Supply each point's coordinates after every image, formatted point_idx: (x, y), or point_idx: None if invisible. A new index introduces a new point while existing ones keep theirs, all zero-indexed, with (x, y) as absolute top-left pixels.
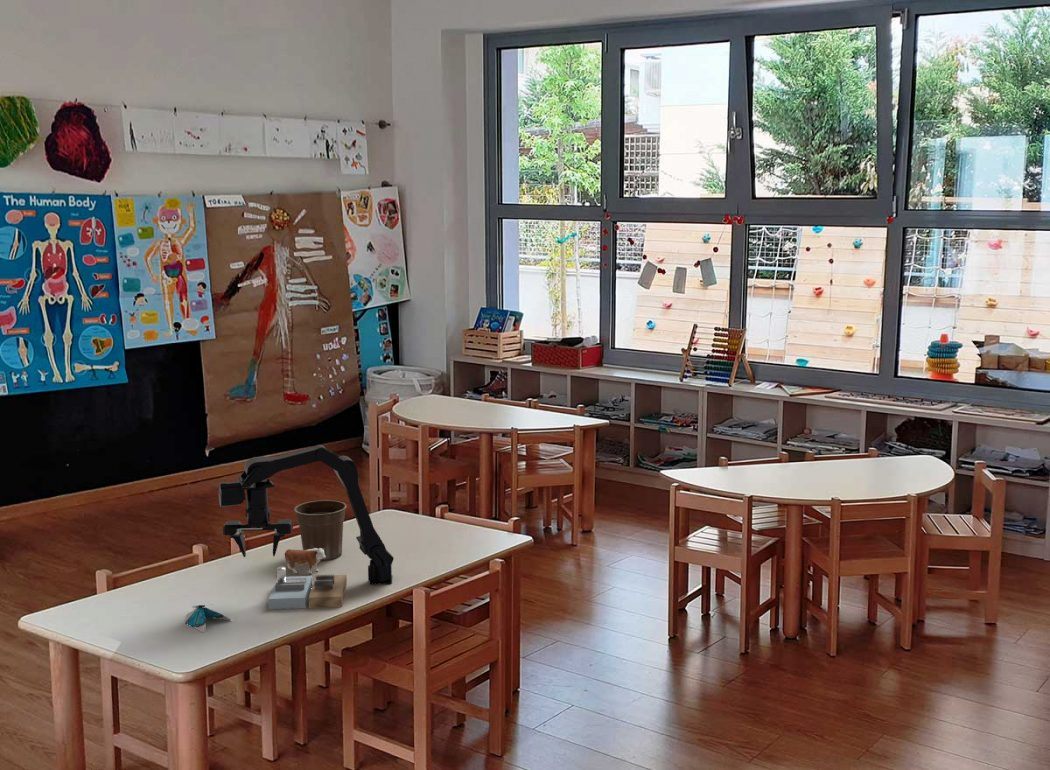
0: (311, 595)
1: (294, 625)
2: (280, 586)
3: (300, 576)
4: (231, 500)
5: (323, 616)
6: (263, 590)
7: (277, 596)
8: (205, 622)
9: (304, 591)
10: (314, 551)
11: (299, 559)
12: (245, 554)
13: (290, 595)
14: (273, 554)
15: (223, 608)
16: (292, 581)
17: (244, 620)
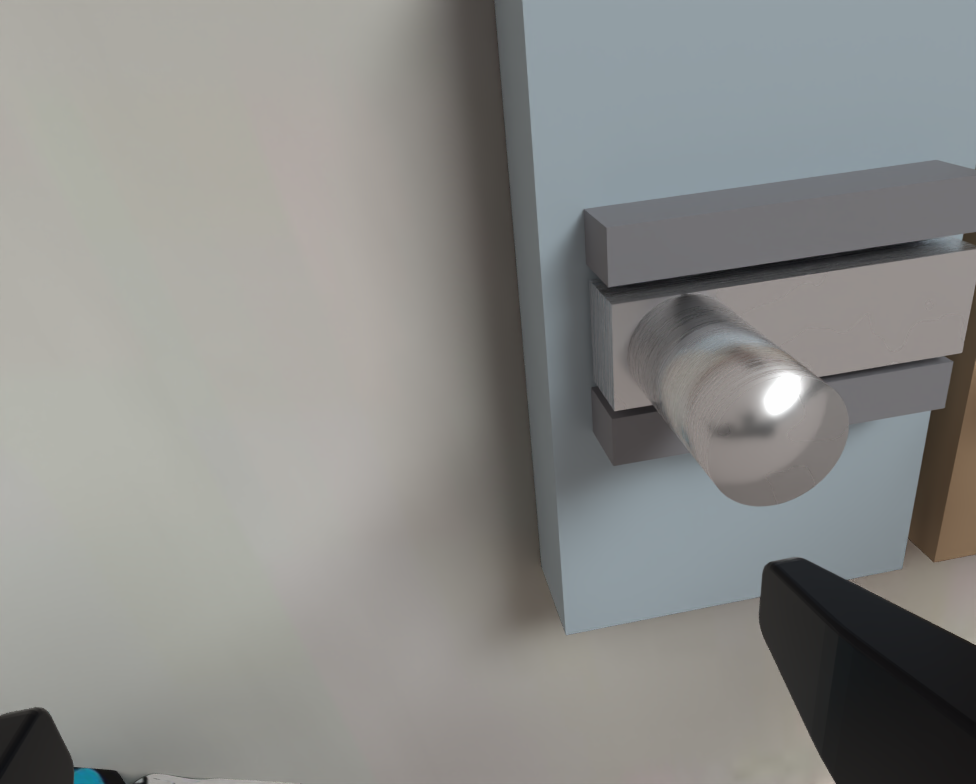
0: (963, 513)
1: (774, 775)
2: (670, 446)
3: None
4: None
5: (965, 631)
6: (319, 35)
7: (642, 569)
8: None
9: (903, 420)
10: None
11: None
12: (40, 777)
13: (767, 533)
14: (797, 680)
15: (95, 593)
16: (820, 343)
17: (404, 766)
